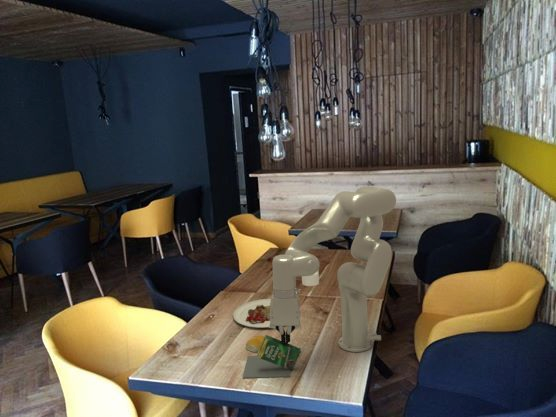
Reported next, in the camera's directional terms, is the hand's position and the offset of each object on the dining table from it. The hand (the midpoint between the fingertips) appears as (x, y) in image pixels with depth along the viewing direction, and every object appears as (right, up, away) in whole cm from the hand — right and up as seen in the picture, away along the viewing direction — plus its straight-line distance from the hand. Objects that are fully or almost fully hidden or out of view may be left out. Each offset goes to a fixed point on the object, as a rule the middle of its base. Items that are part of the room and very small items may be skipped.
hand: (285, 343), depth 150 cm
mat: (-6, -10, +5) cm, 13 cm away
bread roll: (-10, -8, +20) cm, 24 cm away
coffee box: (+4, -6, +2) cm, 7 cm away
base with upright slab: (+15, +6, +84) cm, 85 cm away
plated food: (-8, -2, +48) cm, 48 cm away
